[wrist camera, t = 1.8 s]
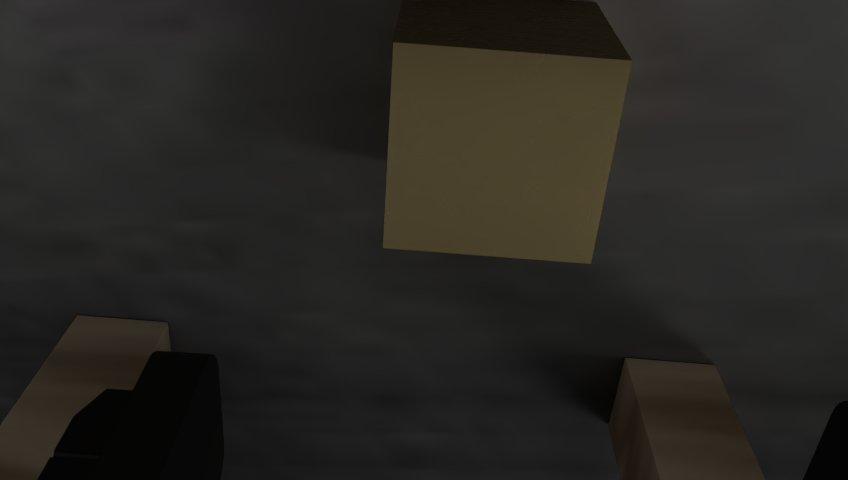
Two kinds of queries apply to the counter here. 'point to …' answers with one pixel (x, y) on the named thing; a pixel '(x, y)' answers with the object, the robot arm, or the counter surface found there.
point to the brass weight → (502, 127)
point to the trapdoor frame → (629, 425)
